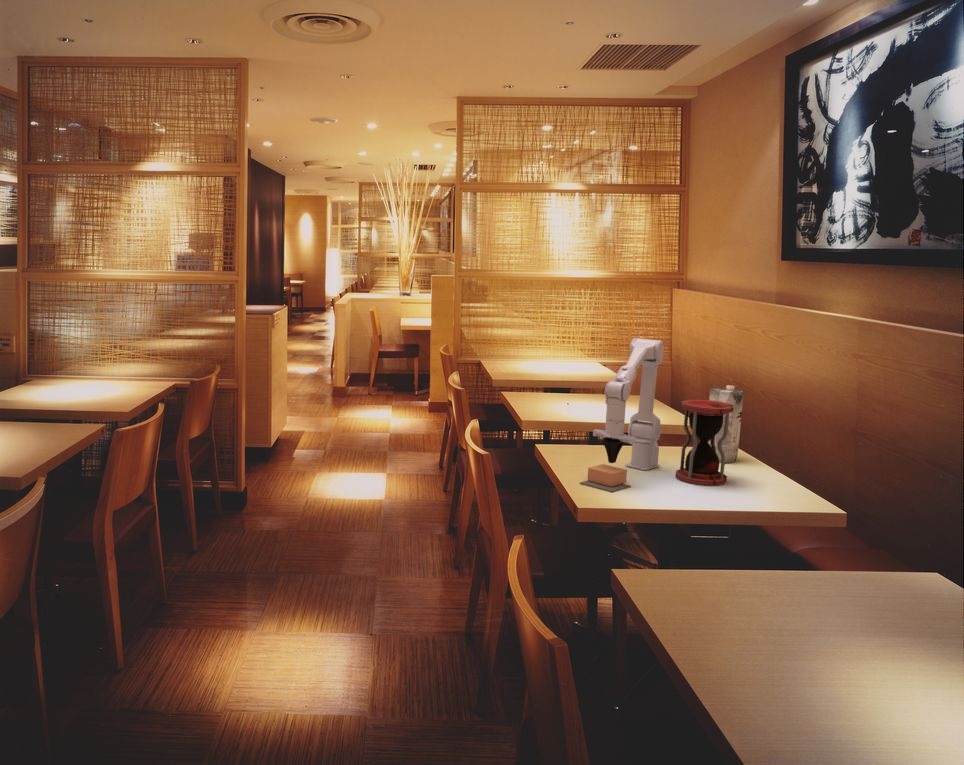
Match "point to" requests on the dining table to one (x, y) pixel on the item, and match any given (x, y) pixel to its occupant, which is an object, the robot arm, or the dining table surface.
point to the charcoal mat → (603, 487)
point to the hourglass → (704, 442)
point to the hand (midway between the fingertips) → (612, 462)
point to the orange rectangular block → (607, 475)
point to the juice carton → (734, 423)
